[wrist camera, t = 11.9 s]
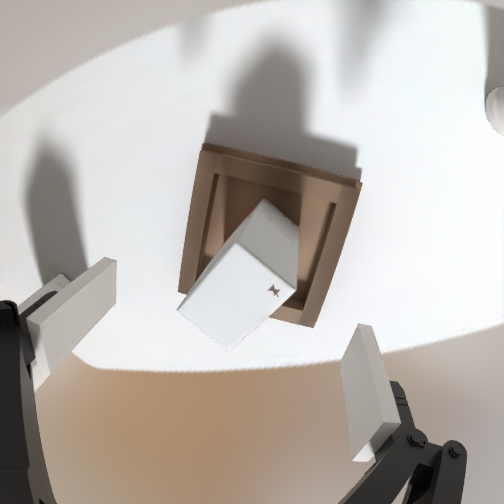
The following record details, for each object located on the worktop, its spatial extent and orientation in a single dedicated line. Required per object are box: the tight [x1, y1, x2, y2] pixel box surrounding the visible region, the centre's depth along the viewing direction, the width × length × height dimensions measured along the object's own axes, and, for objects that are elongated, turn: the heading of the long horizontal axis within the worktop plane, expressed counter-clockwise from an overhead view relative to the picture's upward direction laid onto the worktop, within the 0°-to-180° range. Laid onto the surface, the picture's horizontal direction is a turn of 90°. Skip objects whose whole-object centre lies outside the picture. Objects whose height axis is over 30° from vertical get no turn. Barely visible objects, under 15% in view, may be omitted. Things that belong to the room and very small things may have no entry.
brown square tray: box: [178, 143, 363, 328], centre depth 28 cm, size 14×14×3 cm
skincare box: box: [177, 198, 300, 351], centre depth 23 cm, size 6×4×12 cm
